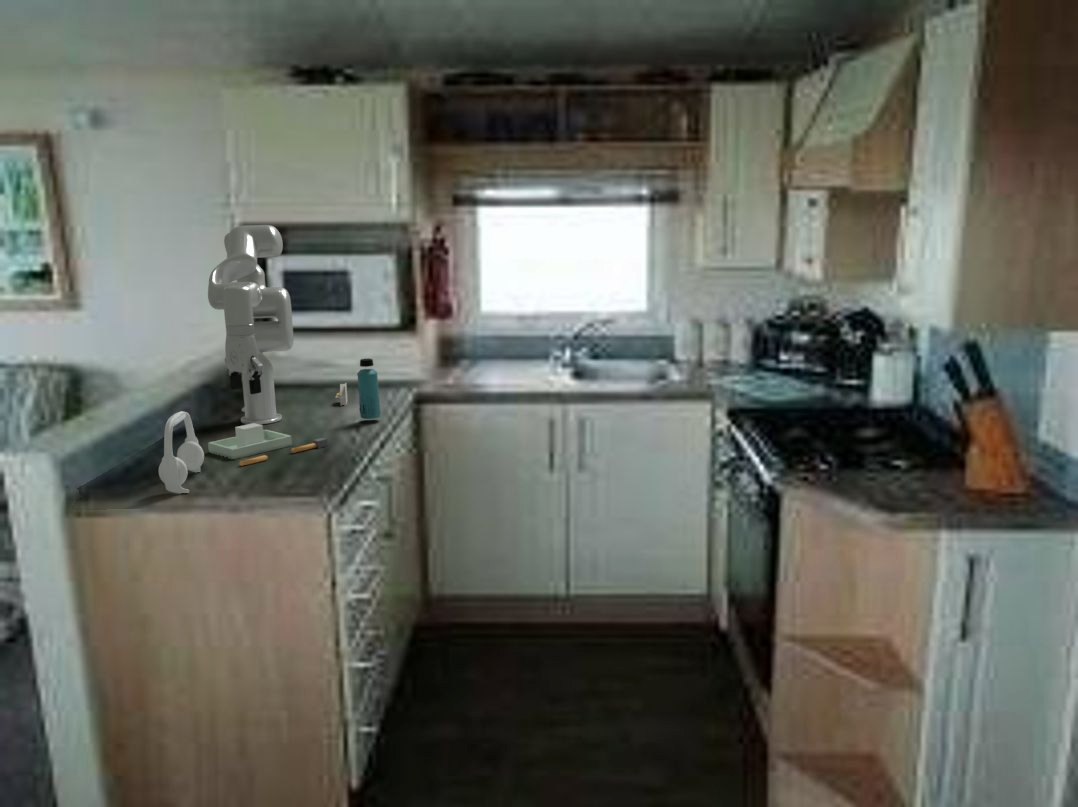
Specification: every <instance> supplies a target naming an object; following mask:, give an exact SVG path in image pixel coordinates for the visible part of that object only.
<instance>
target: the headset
mask: <svg viewBox="0 0 1078 807" xmlns="http://www.w3.org/2000/svg"><path fill="white" fill-rule="evenodd" d="M181 422H184V426H185V430H186V431H185V432H186V438H185V439H184V442H183V443H182V444H181V445H180V446H179V447H178V449H177V453H176V456H175V455H174V453H173V430H174V427H175V426H177V425H178V424H179V423H181ZM163 438H164V439H163V442H164V443H163V444H164V445H163V451H164V452H163V457H162V458H161V462H160V464H159V467H158V476H159V479H160V480H161V481H162V483H163V484H164V486H165V490H166V491H168V492H170V493H175V494H181V493H189V494H190V490H189V489H188V488H184V487H182V485H183V484H184V483H185V481H186V480H187V477H188V474H189V473H188V471H190V472H192V473H193V472H194V473H197V472H200V473H201V466H202V464H203V463H204V459H205V452H204V449H203V448H202V447H201V445H200V444H199V438H198V437H197V436H196V434H195V429H194V426H193V421H192V418H191V415H190V414H189V413H188V412H187V411H182V410H181V411H178V412H175V413H174V414H172V415H171V416H170V417H169V418H168V419H167V421H166V423H165V427H164V437H163Z"/></svg>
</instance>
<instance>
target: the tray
mask: <svg viewBox="0 0 1078 807" xmlns="http://www.w3.org/2000/svg"><path fill="white" fill-rule="evenodd" d="M263 433H264V442H260V443H256V444H252V445H247V446H243V447H239V448H237V442H236V436H232V437H227V438H224V439H223V438H222V439H218V440H216V441H215V440H214V441H209V442H207V444H208V446H207V447H208V453H209V454H210V453H211V454H213V455H216V456H219V455H220V457H223V456H224V458H226V457H228V458H227V459H230V460H233V459H234V460H238V458H239V459H242V458H246V457H250V456H255V455H259V454H263V453H266V452H271V451H275V450H279V449H283V448H287V447H291V446H293V437H292V435H289V434H286V433H281V432H277V431H273V430H269V429H263Z"/></svg>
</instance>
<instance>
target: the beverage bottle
mask: <svg viewBox="0 0 1078 807" xmlns="http://www.w3.org/2000/svg"><path fill="white" fill-rule="evenodd" d="M359 366H360V367H366V368H363V369H360V370H359V371H358V372H357V373H356V376H357V388H358V399H359V400H358V405H359V416H360V418H361V419H363V420H372V419H378V418H380V416H381V404H380V403H381V402H380V399H381V398H380V392H379V379H378V371H377V370H375V369H374V368H367V367H373V366H374V360H373V358H361V359H360V360H359Z"/></svg>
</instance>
